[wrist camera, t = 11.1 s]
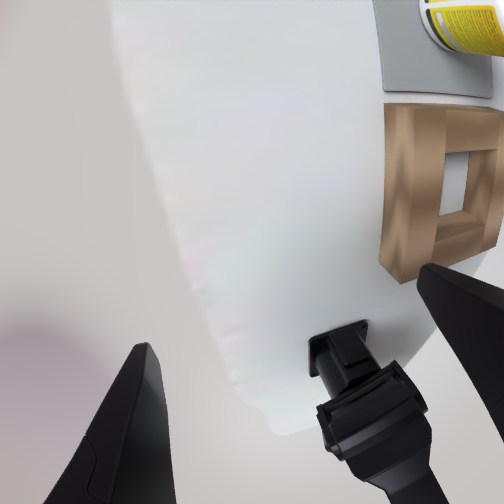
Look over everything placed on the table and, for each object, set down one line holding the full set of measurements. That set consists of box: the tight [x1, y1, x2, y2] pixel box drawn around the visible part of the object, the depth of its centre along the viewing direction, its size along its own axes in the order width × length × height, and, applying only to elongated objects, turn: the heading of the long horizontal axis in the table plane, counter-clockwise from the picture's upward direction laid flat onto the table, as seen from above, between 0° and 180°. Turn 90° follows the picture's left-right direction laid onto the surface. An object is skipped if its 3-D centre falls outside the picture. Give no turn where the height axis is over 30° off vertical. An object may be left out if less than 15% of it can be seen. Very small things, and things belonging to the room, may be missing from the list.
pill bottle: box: [419, 0, 504, 57], centre depth 11 cm, size 6×6×11 cm
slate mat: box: [373, 0, 492, 98], centre depth 16 cm, size 14×14×1 cm
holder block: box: [379, 103, 504, 284], centre depth 22 cm, size 14×14×4 cm
